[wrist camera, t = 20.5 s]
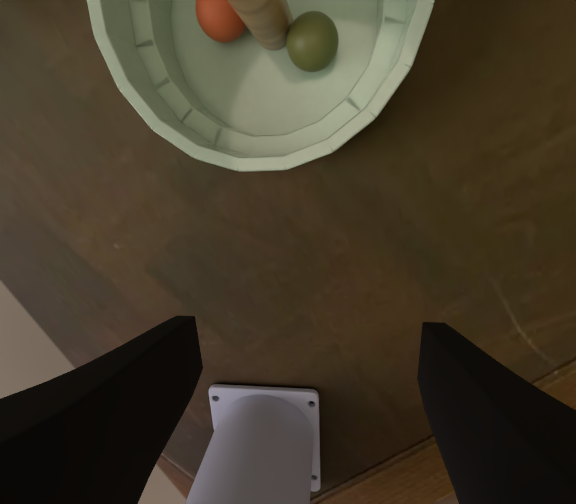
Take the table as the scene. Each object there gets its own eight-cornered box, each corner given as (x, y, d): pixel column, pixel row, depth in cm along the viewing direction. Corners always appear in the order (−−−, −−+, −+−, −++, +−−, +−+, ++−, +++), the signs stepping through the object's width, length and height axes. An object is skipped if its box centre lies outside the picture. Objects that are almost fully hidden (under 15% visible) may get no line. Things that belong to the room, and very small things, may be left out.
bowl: (398, 158, 18) (422, 165, 13) (170, 167, 20) (120, 176, 15) (417, -165, 14) (460, -319, 9) (127, -119, 16) (41, -228, 11)
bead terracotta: (243, 55, 17) (202, 33, 17) (262, 4, 16) (219, -20, 16) (225, 46, 15) (178, 21, 15) (245, -15, 14) (195, -42, 14)
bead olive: (297, 88, 16) (332, 51, 14) (267, 43, 15) (299, -1, 14) (322, 77, 17) (357, 42, 15) (295, 35, 17) (327, -6, 15)
